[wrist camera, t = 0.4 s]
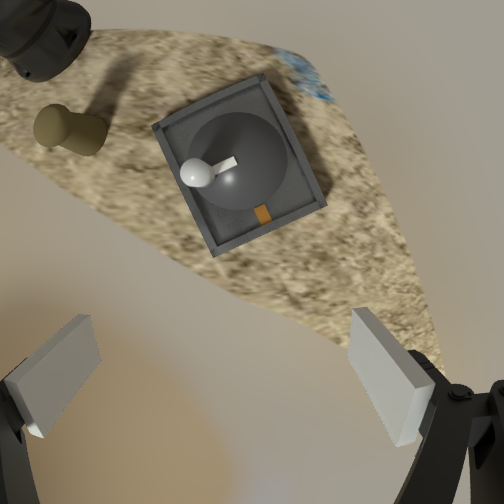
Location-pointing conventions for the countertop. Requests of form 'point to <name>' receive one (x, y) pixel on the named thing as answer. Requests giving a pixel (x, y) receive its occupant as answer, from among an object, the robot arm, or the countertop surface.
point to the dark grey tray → (269, 212)
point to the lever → (236, 161)
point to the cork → (69, 130)
